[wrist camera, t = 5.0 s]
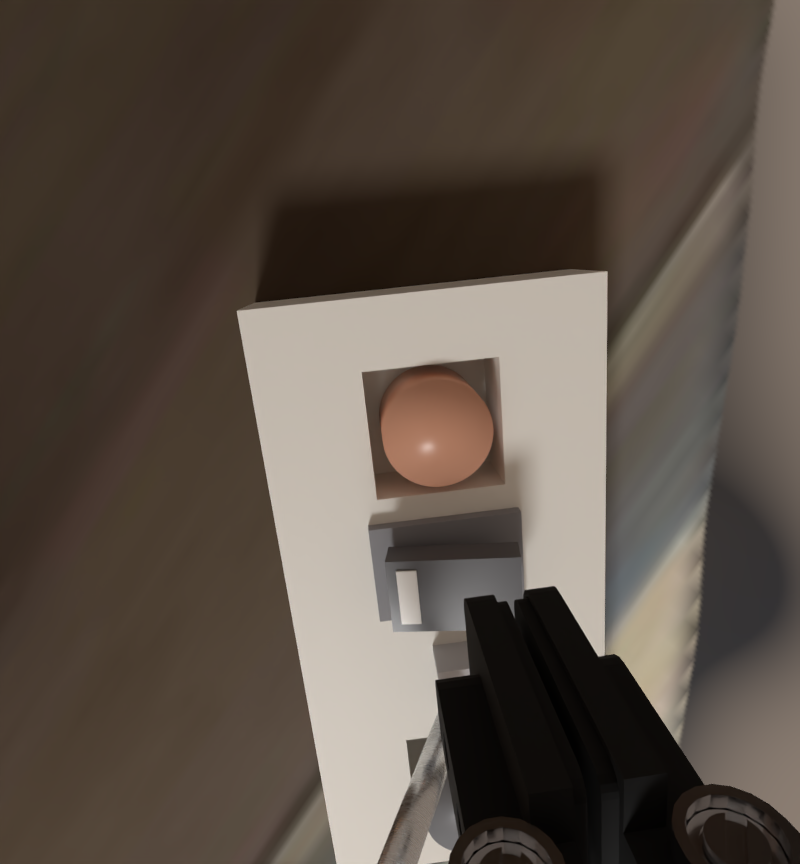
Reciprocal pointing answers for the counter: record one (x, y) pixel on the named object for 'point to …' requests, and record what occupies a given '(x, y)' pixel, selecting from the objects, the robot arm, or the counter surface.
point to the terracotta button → (434, 426)
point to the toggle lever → (417, 804)
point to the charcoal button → (444, 820)
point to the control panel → (421, 498)
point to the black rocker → (448, 582)
